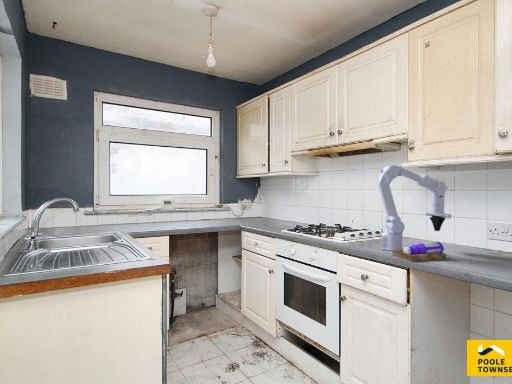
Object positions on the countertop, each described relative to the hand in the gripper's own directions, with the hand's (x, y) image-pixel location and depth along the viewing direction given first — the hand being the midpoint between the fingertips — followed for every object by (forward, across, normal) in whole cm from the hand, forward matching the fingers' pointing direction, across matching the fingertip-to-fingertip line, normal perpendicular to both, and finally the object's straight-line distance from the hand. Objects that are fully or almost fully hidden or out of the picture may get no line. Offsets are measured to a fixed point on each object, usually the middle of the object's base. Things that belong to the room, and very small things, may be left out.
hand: (437, 230), depth 156 cm
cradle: (+10, -9, +20) cm, 24 cm away
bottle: (+6, -12, +10) cm, 17 cm away
